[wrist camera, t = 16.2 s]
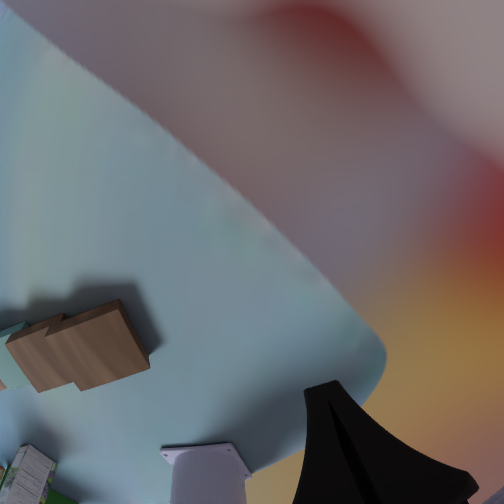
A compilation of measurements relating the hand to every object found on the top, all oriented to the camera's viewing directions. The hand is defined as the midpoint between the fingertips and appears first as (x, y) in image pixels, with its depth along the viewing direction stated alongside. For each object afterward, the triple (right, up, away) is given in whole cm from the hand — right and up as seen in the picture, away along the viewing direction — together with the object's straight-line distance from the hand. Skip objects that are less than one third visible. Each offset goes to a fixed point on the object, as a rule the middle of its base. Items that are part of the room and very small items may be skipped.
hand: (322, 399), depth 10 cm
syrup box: (-37, -26, +16) cm, 48 cm away
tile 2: (-16, -1, +8) cm, 18 cm away
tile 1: (-11, 0, +8) cm, 13 cm away
